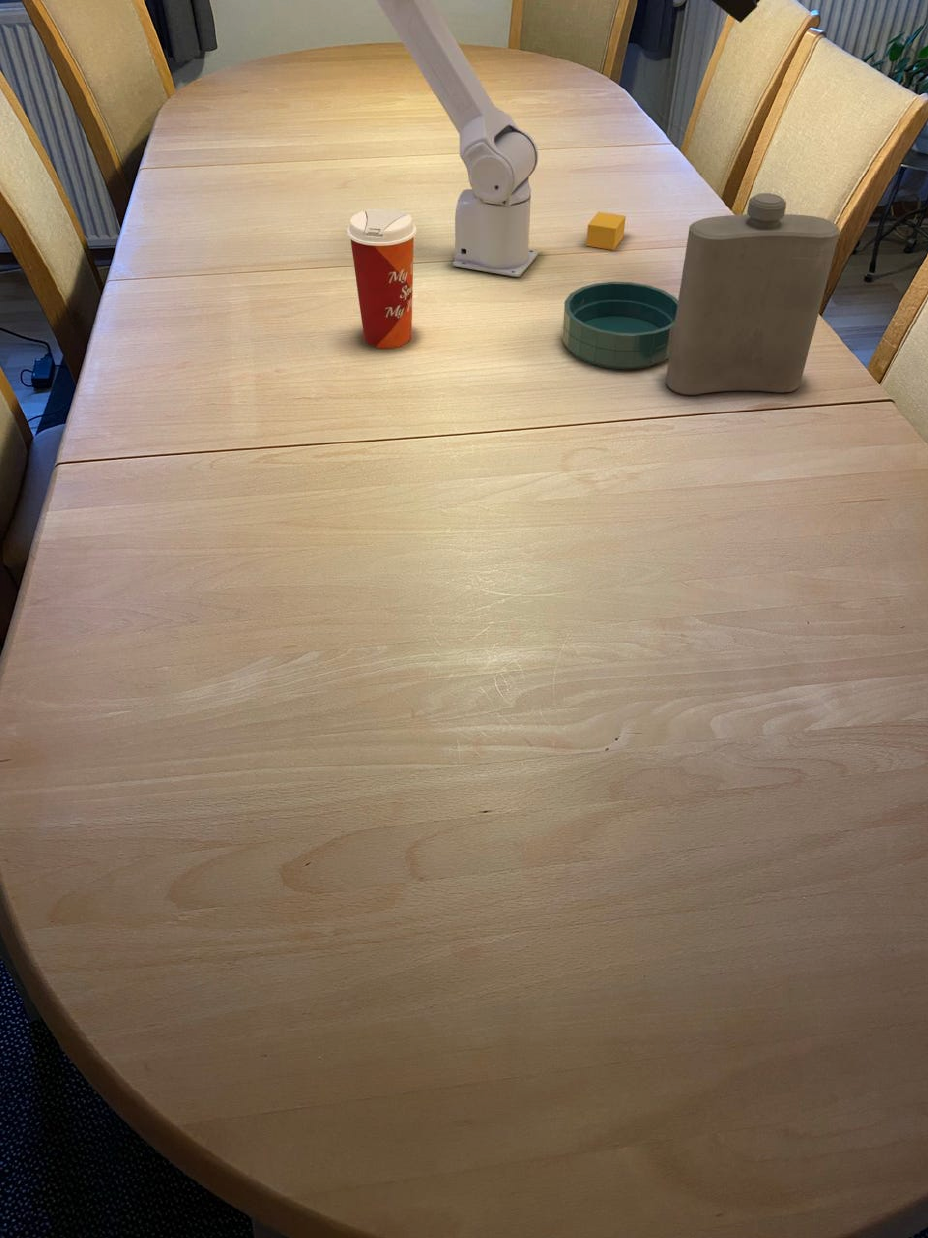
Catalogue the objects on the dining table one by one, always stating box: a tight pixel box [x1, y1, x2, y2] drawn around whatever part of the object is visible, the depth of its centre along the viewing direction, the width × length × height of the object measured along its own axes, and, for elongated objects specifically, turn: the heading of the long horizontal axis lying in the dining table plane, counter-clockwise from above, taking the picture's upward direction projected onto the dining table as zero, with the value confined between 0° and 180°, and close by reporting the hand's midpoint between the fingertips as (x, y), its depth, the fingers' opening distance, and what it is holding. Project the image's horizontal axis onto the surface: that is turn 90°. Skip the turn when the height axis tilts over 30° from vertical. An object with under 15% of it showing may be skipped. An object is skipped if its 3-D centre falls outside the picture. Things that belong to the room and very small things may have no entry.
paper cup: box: [346, 207, 417, 350], centre depth 114 cm, size 8×8×14 cm
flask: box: [665, 192, 841, 396], centre depth 104 cm, size 15×6×20 cm, turn 93°
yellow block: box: [585, 211, 627, 251], centre depth 138 cm, size 4×5×3 cm
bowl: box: [561, 281, 678, 371], centre depth 116 cm, size 14×14×4 cm
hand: (755, 6), depth 104 cm, fingers open, 7 cm apart
